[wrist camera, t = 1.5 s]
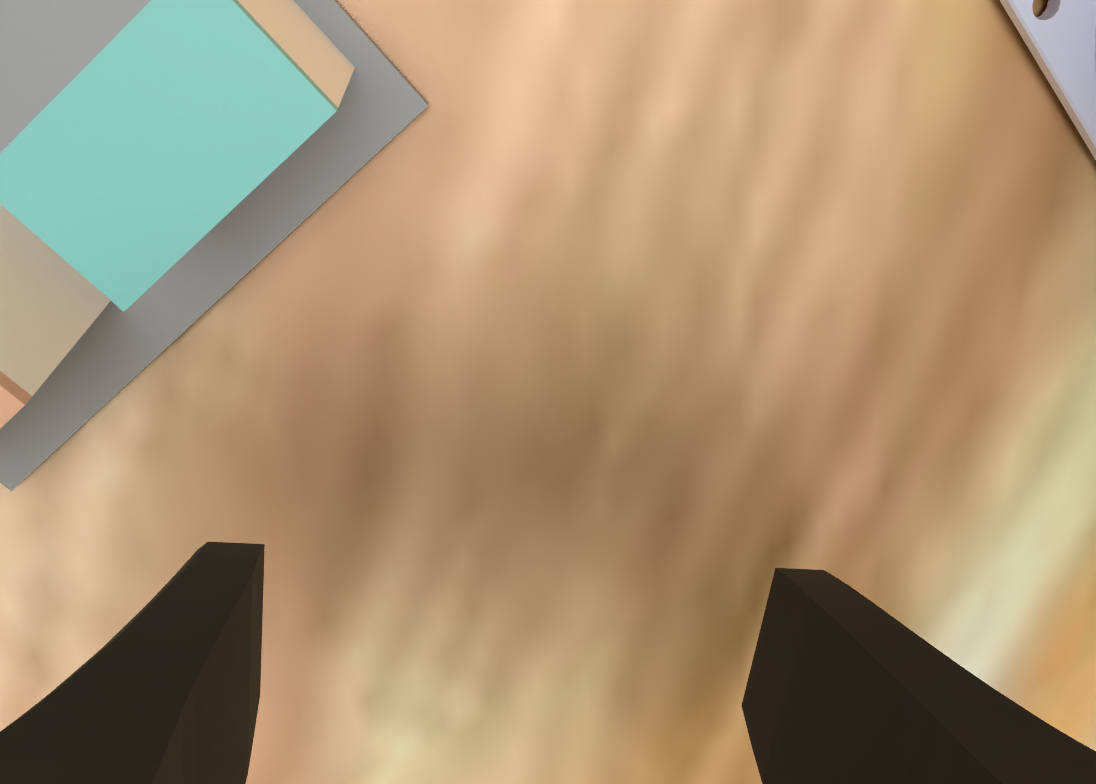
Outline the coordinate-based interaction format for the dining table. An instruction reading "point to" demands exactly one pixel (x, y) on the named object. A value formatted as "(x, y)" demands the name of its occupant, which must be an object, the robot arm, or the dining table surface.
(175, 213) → the slab
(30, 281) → the slab
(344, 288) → the dining table surface
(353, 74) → the mat
